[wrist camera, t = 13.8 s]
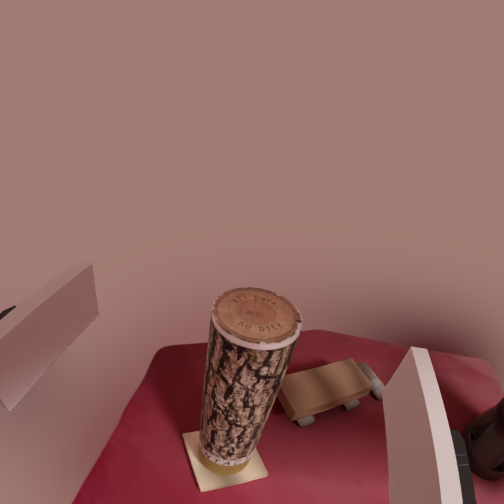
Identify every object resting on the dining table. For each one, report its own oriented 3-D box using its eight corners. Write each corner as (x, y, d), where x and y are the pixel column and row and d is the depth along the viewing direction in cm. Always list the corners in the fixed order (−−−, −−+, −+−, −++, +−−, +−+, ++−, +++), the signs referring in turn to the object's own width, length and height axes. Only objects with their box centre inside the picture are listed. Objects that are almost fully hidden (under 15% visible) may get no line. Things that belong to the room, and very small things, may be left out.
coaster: (243, 425, 39) (244, 422, 39) (266, 476, 32) (268, 473, 32) (182, 436, 36) (182, 433, 35) (200, 491, 29) (200, 489, 28)
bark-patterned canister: (203, 430, 37) (221, 280, 26) (251, 439, 36) (301, 296, 25) (193, 470, 30) (202, 333, 19) (246, 480, 30) (304, 352, 19)
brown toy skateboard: (361, 367, 54) (370, 349, 52) (385, 397, 47) (397, 380, 45) (267, 393, 46) (273, 374, 44) (289, 434, 39) (298, 418, 37)
